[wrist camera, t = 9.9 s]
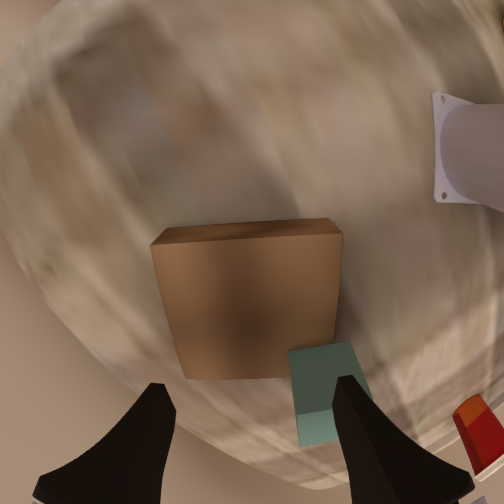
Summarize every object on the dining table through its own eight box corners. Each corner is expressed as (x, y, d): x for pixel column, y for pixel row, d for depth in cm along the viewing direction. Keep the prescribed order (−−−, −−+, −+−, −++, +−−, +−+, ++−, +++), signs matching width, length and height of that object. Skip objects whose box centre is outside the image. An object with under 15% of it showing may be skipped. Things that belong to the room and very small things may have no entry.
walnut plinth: (328, 218, 16) (342, 233, 13) (320, 345, 20) (328, 372, 17) (166, 228, 16) (149, 245, 14) (192, 351, 20) (185, 378, 17)
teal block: (349, 340, 16) (373, 398, 11) (345, 379, 17) (362, 433, 13) (287, 351, 16) (296, 414, 12) (292, 389, 18) (299, 446, 13)
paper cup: (464, 417, 28) (492, 474, 15) (438, 425, 28) (467, 490, 15) (491, 386, 25) (527, 443, 12) (468, 391, 25) (507, 460, 12)
